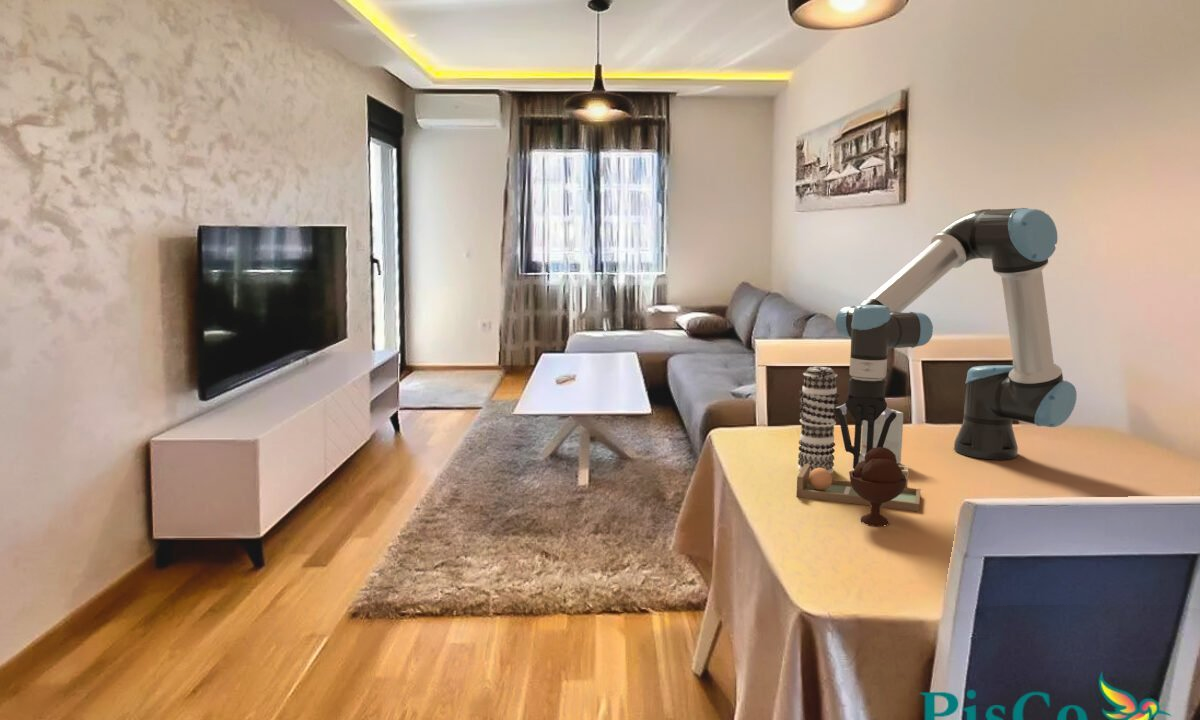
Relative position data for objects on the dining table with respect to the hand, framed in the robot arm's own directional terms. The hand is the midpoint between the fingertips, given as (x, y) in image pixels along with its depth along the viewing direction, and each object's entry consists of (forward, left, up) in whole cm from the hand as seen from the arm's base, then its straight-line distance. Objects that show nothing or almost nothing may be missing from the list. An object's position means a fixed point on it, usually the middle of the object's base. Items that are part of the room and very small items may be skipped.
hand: (861, 484), depth 183 cm
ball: (+9, +1, 0) cm, 9 cm away
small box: (-2, -32, -3) cm, 33 cm away
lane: (0, 0, -3) cm, 3 cm away
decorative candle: (+12, -18, -3) cm, 21 cm away
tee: (-7, -10, -3) cm, 12 cm away
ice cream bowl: (-4, +16, -3) cm, 16 cm away
